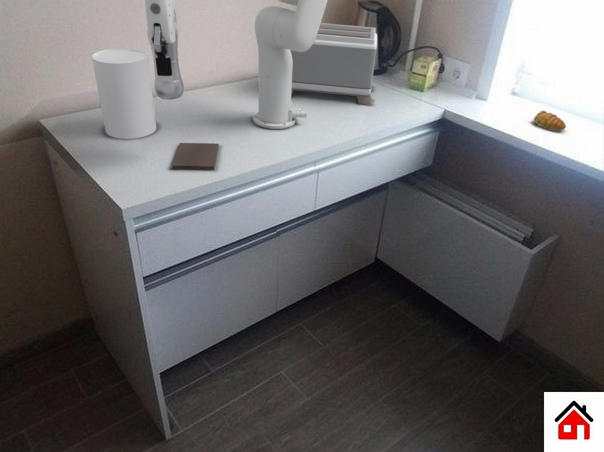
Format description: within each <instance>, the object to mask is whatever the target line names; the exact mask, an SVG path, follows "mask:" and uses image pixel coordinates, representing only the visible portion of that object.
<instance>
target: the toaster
mask: <svg viewBox="0 0 604 452" xmlns="http://www.w3.org/2000/svg"><path fill="white" fill-rule="evenodd" d="M376 30H377V29H376V27H370V26H359V25H347V24H335V23H323V22H321V24H320V27H319V30H318V33H317V36H316V39H315V41H314V43H313V45H312V46H311V47H310V49H308V50H307V51H305V52H296V51H292V50H290V51H291V55H292V60H293V69H292V93H291V96H292V95H293V93H294V91H299V92H300V91H301V92H309V93H310V92H311V93H321V94H331V95H340V96H341V95H342V96H352V97H356V98H357V99H356V100H357V103H358V105H365V106H372V103H373V102H372V100H373V99H372V94H371V93H372V92H373V80H374V71H375V65H376V56H377V50H378V47H377V46H378V34H377V33H376Z"/></svg>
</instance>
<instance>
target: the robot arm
mask: <svg viewBox="0 0 604 452" xmlns="http://www.w3.org/2000/svg"><path fill="white" fill-rule="evenodd" d="M277 1H278V2H280V3H284V4H287V5H291V6H295V7H296V9H295V10H292V9H289V8H284V7H281V6H276V5H275V6H274V5H272V6H271V5H269V6H265V7H263V8H262V9H260V11H259V12H258V13H257V15H256V17H255V20H254V32H255V39H256V44H257V52H258V112H256V113H255V114H254V115H253V117H252V121H253V123H254V124H255V125H256V126H258V127H260V128H265V129H269V130H283V129H286V128H291V127H293V126H294V125H295V124H296V123H297V122H296V121H297V120H296V119H297V118H301V119H302V118H303V119H306V118H307V110H303V109H302V108H294V107H293V104H292V95H291V93H292V69H293V60H292V55H291V51H290V50H292V51H296V52H305V51H307V50H308V49H310V47H311V46H312V45H313V43H314V41H315V39H316V36H317V33H318V30H319V27H320V24H321V23H322V20H323V18H324V13H325V10H326V9H327V8H326V7H327V4H328V0H277ZM176 5H177V4H176V0H144V6H145V15H146V17H145V18H146V24H147V31H148V33H149V38H150V42H151V43H153V44H154V48H155V60H156V68H157V75H158V76H172V66H171V57H169V48H168V43H170V44H173V43H174V42H175V40H176V38H175V29H177V32H178V36H179V35H180V27H179V21H178V11H177V6H176ZM155 7H156V9H155ZM153 36H154V40H152V38H153ZM149 38H148V39H149ZM161 38H163V39H165V43H161ZM162 46H165V49H164V47H162ZM292 94H293V93H292Z"/></svg>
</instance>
